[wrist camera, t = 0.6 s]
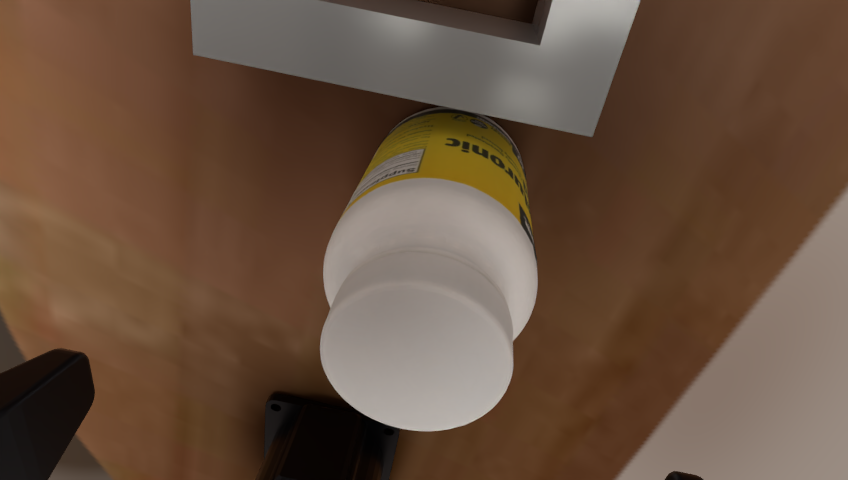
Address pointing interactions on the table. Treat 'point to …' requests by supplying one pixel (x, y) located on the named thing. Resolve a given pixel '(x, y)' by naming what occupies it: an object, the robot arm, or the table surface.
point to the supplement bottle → (431, 274)
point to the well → (433, 52)
